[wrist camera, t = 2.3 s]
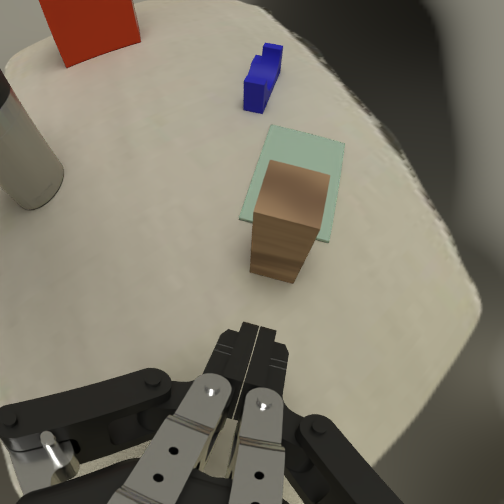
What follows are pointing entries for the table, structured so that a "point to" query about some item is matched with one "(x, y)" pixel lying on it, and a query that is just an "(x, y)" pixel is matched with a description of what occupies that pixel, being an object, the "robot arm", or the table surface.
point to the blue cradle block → (262, 78)
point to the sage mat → (302, 155)
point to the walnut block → (286, 219)
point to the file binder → (90, 27)
